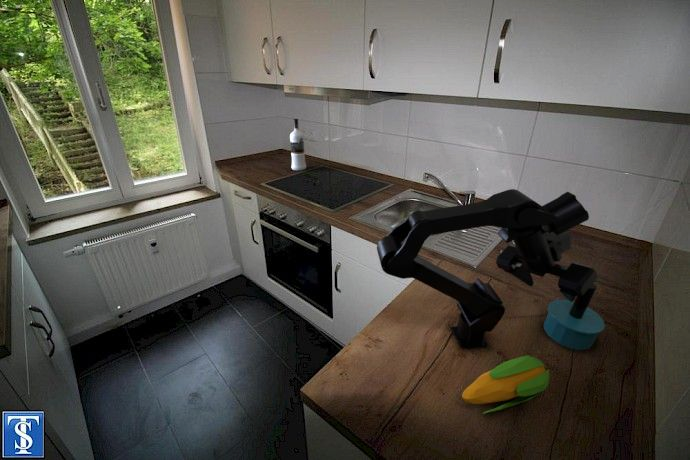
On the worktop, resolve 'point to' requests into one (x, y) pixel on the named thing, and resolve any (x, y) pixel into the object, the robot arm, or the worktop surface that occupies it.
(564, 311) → the lid
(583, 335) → the pot
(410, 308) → the worktop surface
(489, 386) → the corn
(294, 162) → the vodka
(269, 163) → the worktop surface
